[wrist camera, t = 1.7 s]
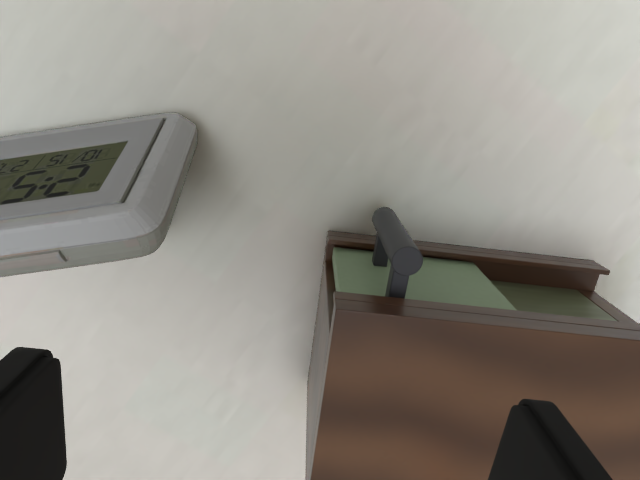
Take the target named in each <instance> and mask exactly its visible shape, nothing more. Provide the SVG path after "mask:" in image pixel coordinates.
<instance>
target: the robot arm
mask: <svg viewBox="0 0 640 480" xmlns="http://www.w3.org/2000/svg"><path fill="white" fill-rule="evenodd" d="M66 465H67V460H66V444H65V428H64V412H63V396H62V380H61V365H60V361H59V359H57V358H53V355H52V353H51V351H49V350H44V349H35V348H25V347H17V348H15V349H13V350H12V351H11V352H10V353H8V354H7V355H6V356H5V357H4V358H3V359H1V360H0V480H62V479H63V477H64V474H65V471H66ZM488 480H613V479H612V478H611V477H610V475H609V474H608V473H607V471H606V470H605V469H604V467H603V466H602V465H601V463H600V462H599V461H598V460H597V458H596V457H595V456H594V454H593V453H592V452H591V450H590V449H589V448H588V446H587V445H586V444H585V443H584V441H583V440H582V439H581V437H580V436H579V435H578V433H577V432H576V431H575V429H574V428H573V427H572V426H571V424H570V423H569V422H568V420H567V419H566V418H565V416H564V415H563V414H562V412H561V411H560V410H559V409H558V407H557V406H556V405H555V404H554V403H553V402H550V401H543V400H533V399H522V400H521V401H520V402H519V404H518V405H513V406H512V407H511V410H510V412H509V415H508V418H507V422H506V425H505V428H504V431H503V434H502V437H501V440H500V443H499V446H498V450H497V453H496V456H495V459H494V462H493V465H492V468H491V471H490V474H489V478H488Z"/></svg>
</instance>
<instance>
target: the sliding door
mask: <svg viewBox="0 0 640 480" xmlns="http://www.w3.org/2000/svg"><path fill="white" fill-rule="evenodd" d="M372 222H373V224H374V227H375V229H376V231H377V234H376V240H375V246H374V251H367V250H358V249H349V248H340V247H334V248H333V255H332V261H333V270H334V279H335V288H336V291H338V292H348V293H357V294H367V295H376V296H385V297H395V298H404V299H414V300H423V301H432V302H442V303H451V304H461V305H470V306H479V307H489V308H498V309H508V310H516V309H515V308H514V306H513V305H512V304H511V303H510V302H509V301H508V300H507V299H506V298H505V297H504V296H503V294H502V293H501V292H500V291H499V290H498V289H497V288H496V287H495V286H494V285H493V284H492V282H491V281H490V280H489V279H488V278H487V277H486V276H485V275H484V274H483V273H482V272H481V271H480V269H479V268H478V267H477V266H476V265H475V264H474V263H473V262H465V261H456V260H447V259H438V258H429V257H423V256H422V254H421V252H420V251H419V249H418V248H417V246H416V245H415V243H414V241H413V240H412V238H411V237H410V235H409V234H408V232H407V231H406V229H405V228H404V226H403V225H402V223H401V222H400V220H399V219H398V217H397V216H396V214H395V212H394V211H393V210H392V209H390V208H388V207H381V208H379V209H377V210H376V211H375V212H374V214H373V216H372Z"/></svg>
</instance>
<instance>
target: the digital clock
mask: <svg viewBox="0 0 640 480" xmlns="http://www.w3.org/2000/svg"><path fill="white" fill-rule="evenodd" d="M197 139H198V133H197V128H196V125H195V124H194V123H193V122H191V121H190V120H188V119H187V118H185V117H183V116H182V115H180V114H178V113H163V114H155V115H148V116H140V117H133V118H127V119H120V120H113V121H106V122H99V123H93V124H86V125H79V126H72V127H66V128H59V129H52V130H45V131H38V132H32V133H25V134H18V135H11V136H4V137H0V277H5V276H12V275H19V274H27V273H34V272H41V271H48V270H56V269H63V268H70V267H78V266H85V265H92V264H99V263H106V262H113V261H119V260H125V259H131V258H137V257H142V256H146V255H149V254H151V253H153V252H155V251H156V250H157V249H158V248H159V247H160V245H161V244H162V242H163V241H164V239H165V237H166V234H167V232H168V229H169V226H170V224H171V221H172V218H173V215H174V212H175V209H176V206H177V203H178V200H179V197H180V194H181V191H182V188H183V185H184V182H185V179H186V176H187V173H188V170H189V167H190V164H191V161H192V158H193V155H194V152H195V148H196V145H197Z"/></svg>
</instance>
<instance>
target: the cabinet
mask: <svg viewBox="0 0 640 480" xmlns="http://www.w3.org/2000/svg"><path fill="white" fill-rule="evenodd" d="M375 240H376V236H370V235H361V234H352V233H343V232H335V231H328V234H327V241H326V248H325V256H324V263H323V271H322V278H321V286H320V293H319V301H318V308H317V315H316V323H315V330H314V338H313V345H312V353H311V360H310V368H309V375H308V382H307V429H306V478H305V480H488V478H489V474H490V471H491V468H492V465H493V462H494V459H495V456H496V453H497V450H498V446H499V443H500V440H501V437H502V434H503V431H504V428H505V425H506V422H507V418H508V415H509V412H510V410H511V407H512V406H513V405H518V404H519V402H520V401H521V400H522V399H533V400H543V401H550V402H553V403H554V404H555V405H556V406H557V407H558V409H559V410H560V411H561V412H562V414H563V415H564V416H565V418H566V419H567V420H568V422H569V423H570V424H571V426H572V427H573V428H574V429H575V431H576V432H577V433H578V435H579V436H580V437H581V439H582V440H583V441H584V443H585V444H586V445H587V446H588V448H589V449H590V450H591V452H592V453H593V454H594V456H595V457H596V458H597V460H598V461H599V462H600V463H601V465H602V466H603V467H604V469H605V470H606V471H607V473H608V474H609V475H610V477H611V478H612V479H613V480H640V324H639V323H637V322H635V321H634V320H633V319H631V318H630V317H628V316H627V315H626V314H624V313H623V312H622V311H620V310H619V309H617V308H616V307H615V306H613V305H612V304H610V303H609V302H608V301H606V300H605V299H604V298H602V297H601V296H599V295H598V294H597V293H595V292H594V289H595V286H596V283H597V280H598V277H599V274H604V275H609V273H610V270H608V269H606V268H605V267H603V266H601V265H599V264H598V263H596V262H595V261H591V260H582V259H573V258H564V257H556V256H547V255H538V254H529V253H520V252H511V251H503V250H494V249H485V248H476V247H467V246H458V245H450V244H441V243H432V242H423V241H414V240H413V241H414V243H415V245H416V246H417V248H418V249H419V251H420V252H421V254H422V256H423V257H429V258H438V259H447V260H456V261H465V262H473V263H474V264H475V265H476V266H477V267H478V268H479V269H480V271H481V272H482V273H483V274H484V275H485V276H486V277H487V278H488V279H489V280H490V281H491V282H492V284H493V285H494V286H495V287H496V288H497V289H498V290H499V291H500V292H501V293H502V294H503V296H504V297H505V298H506V299H507V300H508V301H509V302H510V303H511V304H512V305H513V306H514V308H515V309H516V310H508V309H498V308H489V307H479V306H470V305H461V304H451V303H442V302H432V301H423V300H414V299H404V298H395V297H385V296H376V295H367V294H357V293H348V292H338V291H336V288H335V279H334V270H333V261H332V255H333V248H334V247H340V248H349V249H358V250H367V251H374V246H375Z"/></svg>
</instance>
